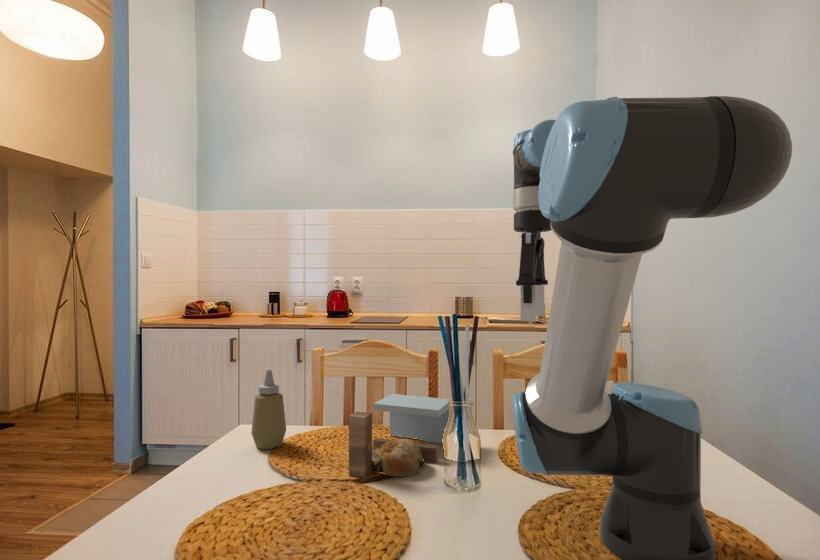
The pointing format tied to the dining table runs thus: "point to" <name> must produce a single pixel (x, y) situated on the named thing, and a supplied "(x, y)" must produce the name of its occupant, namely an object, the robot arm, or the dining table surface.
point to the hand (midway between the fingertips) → (533, 318)
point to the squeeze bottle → (268, 415)
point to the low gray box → (416, 416)
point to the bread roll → (399, 458)
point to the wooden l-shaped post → (362, 445)
